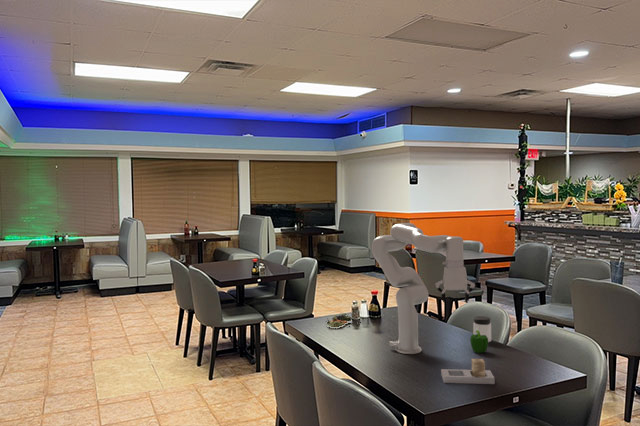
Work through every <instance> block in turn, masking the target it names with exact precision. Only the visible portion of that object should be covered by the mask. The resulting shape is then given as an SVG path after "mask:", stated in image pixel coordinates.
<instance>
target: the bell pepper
mask: <svg viewBox="0 0 640 426" xmlns="http://www.w3.org/2000/svg"><path fill="white" fill-rule="evenodd" d="M476 332H478V334H476V335H474V334H473V333H472V334H471V336H470V339H469V340H470V346H471V348H472V351H473V352H474V353H477V354H481V353H486V352H487V350H488V346H489V343H488V338H487V336H486V335H482V336H481V335H480V332H479V331H478V330H476Z"/></svg>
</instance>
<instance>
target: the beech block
mask: <svg viewBox="0 0 640 426" xmlns="http://www.w3.org/2000/svg"><path fill="white" fill-rule="evenodd" d="M471 370H472V376H485V370H486V361H485V360H484V358H471Z"/></svg>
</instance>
